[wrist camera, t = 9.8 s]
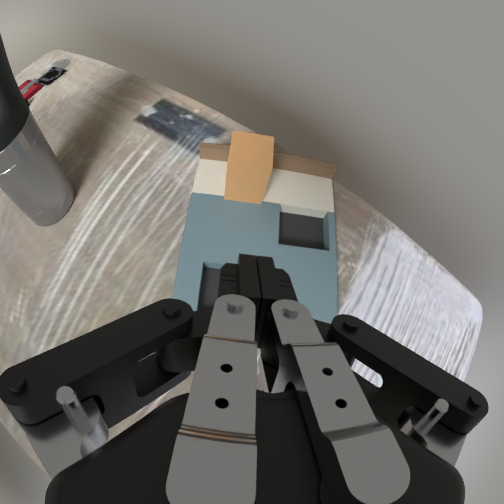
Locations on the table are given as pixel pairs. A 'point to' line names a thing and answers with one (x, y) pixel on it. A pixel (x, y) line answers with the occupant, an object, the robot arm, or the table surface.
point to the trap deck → (262, 230)
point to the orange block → (248, 167)
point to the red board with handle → (33, 86)
